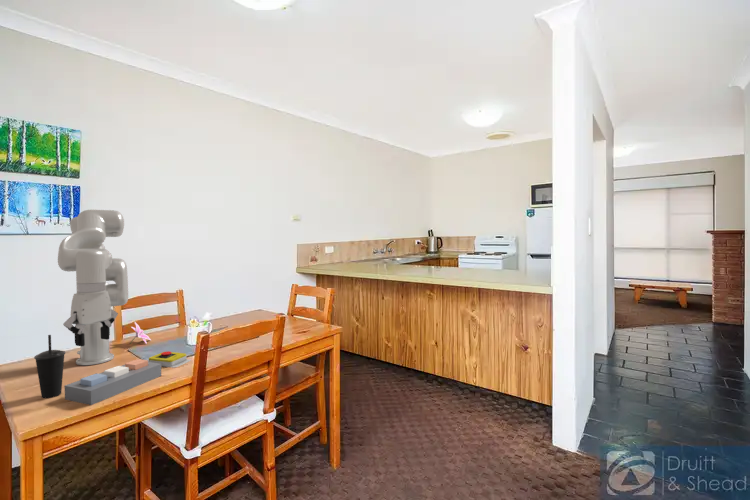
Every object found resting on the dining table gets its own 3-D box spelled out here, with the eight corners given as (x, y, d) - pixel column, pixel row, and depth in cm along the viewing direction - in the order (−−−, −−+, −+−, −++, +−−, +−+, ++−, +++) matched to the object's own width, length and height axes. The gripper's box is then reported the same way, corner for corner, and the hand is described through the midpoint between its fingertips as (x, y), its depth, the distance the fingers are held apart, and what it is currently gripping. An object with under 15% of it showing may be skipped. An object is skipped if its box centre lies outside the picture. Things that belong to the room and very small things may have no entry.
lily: (134, 350, 170) (146, 331, 172) (114, 339, 171) (126, 320, 174) (150, 350, 181) (161, 332, 183) (131, 340, 183) (142, 322, 185)
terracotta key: (125, 371, 133) (125, 363, 132) (138, 366, 137) (137, 359, 137) (135, 373, 131) (135, 365, 131) (148, 368, 136) (147, 360, 136)
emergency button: (162, 348, 158) (191, 351, 154) (162, 358, 158) (192, 361, 154) (143, 355, 149) (175, 358, 145) (144, 365, 149) (175, 369, 145)
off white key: (104, 379, 126) (103, 370, 125) (118, 374, 130) (118, 365, 130) (114, 381, 124) (114, 372, 124) (128, 375, 129) (128, 367, 129)
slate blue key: (80, 388, 118) (80, 378, 118) (96, 382, 123) (96, 373, 123) (91, 390, 117) (91, 380, 117) (107, 384, 122) (107, 375, 121)
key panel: (64, 399, 117) (64, 385, 117) (137, 371, 141) (137, 360, 141) (91, 405, 113) (90, 390, 113) (161, 375, 137) (161, 363, 137)
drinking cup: (48, 390, 124) (46, 332, 123) (72, 389, 124) (70, 331, 124) (29, 400, 116) (26, 338, 115) (54, 400, 117) (52, 338, 116)
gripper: (110, 284, 128) (111, 334, 129) (52, 291, 112) (54, 348, 112) (125, 285, 126) (127, 336, 126) (69, 292, 109) (71, 351, 110)
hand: (93, 341), depth 119 cm, fingers open, 7 cm apart
